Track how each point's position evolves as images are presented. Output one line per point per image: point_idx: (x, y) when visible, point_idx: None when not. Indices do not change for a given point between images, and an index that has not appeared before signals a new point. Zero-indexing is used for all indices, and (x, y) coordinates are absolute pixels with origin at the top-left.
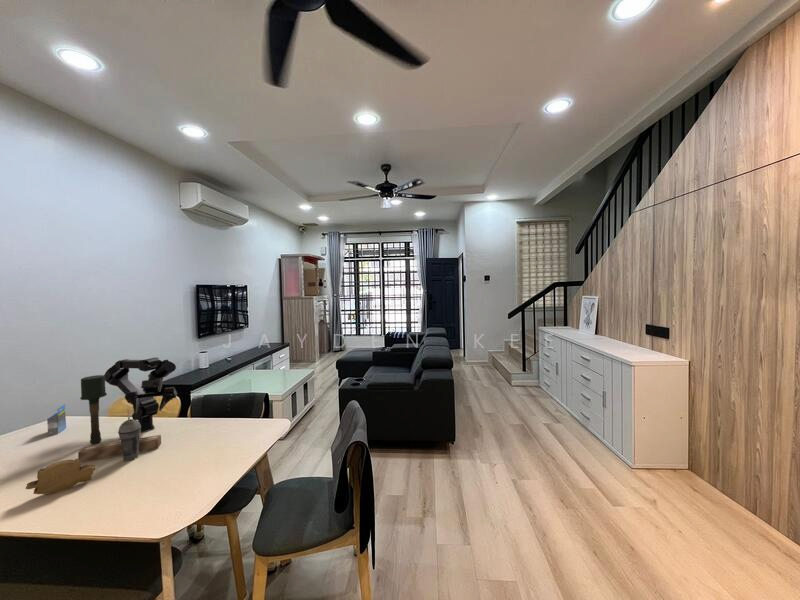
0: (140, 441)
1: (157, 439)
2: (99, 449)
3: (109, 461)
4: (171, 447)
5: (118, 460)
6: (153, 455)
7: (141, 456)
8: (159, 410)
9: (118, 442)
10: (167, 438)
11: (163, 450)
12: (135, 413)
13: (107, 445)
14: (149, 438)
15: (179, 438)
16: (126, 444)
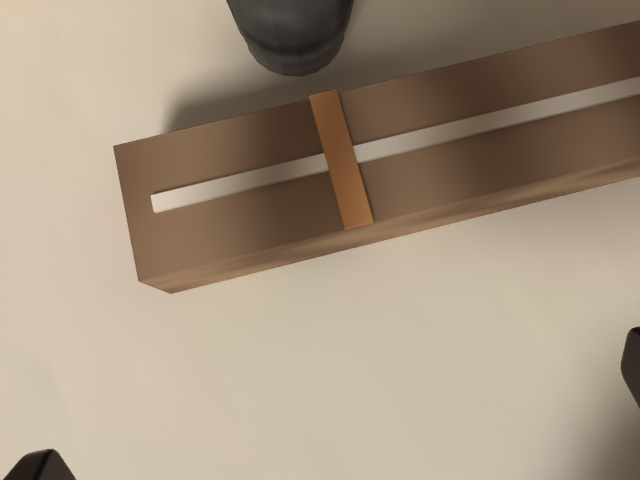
0: (285, 123)
1: (115, 145)
2: (624, 25)
3: (449, 9)
4: (24, 175)
5: (381, 12)
6: (120, 42)
7: (219, 45)
8: (59, 460)
9: (537, 151)
10: (166, 430)
11: (74, 124)
12: (625, 349)
13: (604, 86)
14: (219, 180)
15: (26, 396)
16: None
